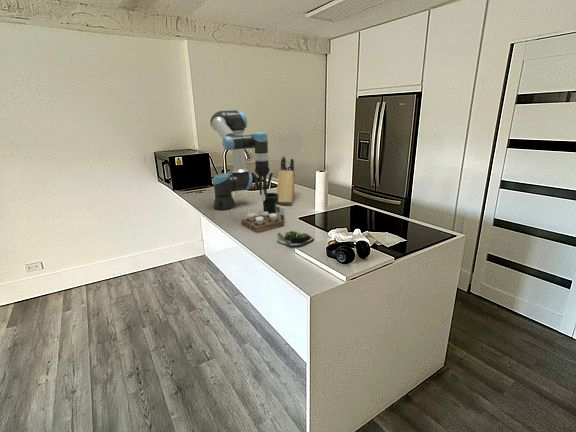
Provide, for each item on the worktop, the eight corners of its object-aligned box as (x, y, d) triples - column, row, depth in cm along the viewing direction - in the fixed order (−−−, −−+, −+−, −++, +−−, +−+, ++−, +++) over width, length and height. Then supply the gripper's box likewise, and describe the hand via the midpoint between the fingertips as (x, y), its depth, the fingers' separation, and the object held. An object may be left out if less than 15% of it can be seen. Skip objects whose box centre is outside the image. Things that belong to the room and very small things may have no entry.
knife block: (295, 193, 252) (295, 155, 242) (291, 206, 219) (290, 161, 209) (282, 193, 253) (280, 155, 244) (275, 206, 220) (274, 162, 210)
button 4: (267, 222, 182) (267, 214, 181) (274, 220, 185) (273, 212, 183) (272, 224, 179) (271, 216, 177) (278, 222, 181) (278, 214, 180)
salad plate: (266, 241, 161) (266, 232, 160) (290, 231, 174) (290, 223, 172) (294, 251, 149) (294, 242, 147) (318, 239, 161) (318, 231, 159)
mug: (264, 215, 200) (263, 197, 196) (261, 209, 214) (260, 192, 210) (281, 214, 202) (280, 196, 198) (276, 208, 216) (276, 191, 212)
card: (276, 218, 194) (275, 204, 191) (280, 217, 196) (280, 203, 193) (284, 222, 187) (284, 208, 184) (289, 221, 189) (288, 206, 186)
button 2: (254, 225, 177) (254, 217, 176) (261, 223, 180) (260, 215, 178) (258, 227, 174) (258, 219, 172) (265, 225, 176) (264, 217, 175)
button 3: (260, 220, 189) (259, 212, 188) (266, 218, 192) (265, 211, 190) (263, 221, 186) (263, 214, 185) (270, 220, 188) (269, 212, 187)
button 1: (246, 221, 184) (246, 213, 183) (253, 219, 187) (252, 212, 185) (250, 223, 181) (249, 215, 179) (257, 221, 183) (256, 214, 182)
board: (241, 224, 185) (241, 219, 184) (267, 218, 195) (267, 213, 194) (257, 233, 171) (257, 227, 170) (284, 225, 181) (283, 220, 180)
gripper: (248, 161, 175) (251, 201, 183) (271, 161, 173) (273, 202, 181) (252, 159, 182) (254, 198, 190) (274, 159, 180) (275, 198, 188)
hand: (263, 200), depth 185 cm, fingers closed
